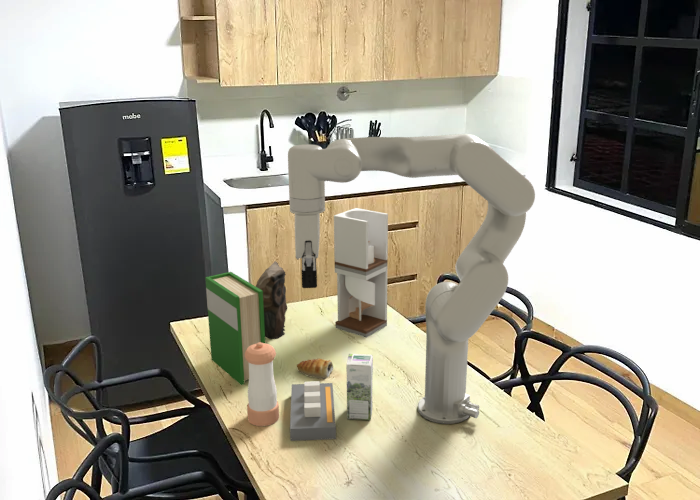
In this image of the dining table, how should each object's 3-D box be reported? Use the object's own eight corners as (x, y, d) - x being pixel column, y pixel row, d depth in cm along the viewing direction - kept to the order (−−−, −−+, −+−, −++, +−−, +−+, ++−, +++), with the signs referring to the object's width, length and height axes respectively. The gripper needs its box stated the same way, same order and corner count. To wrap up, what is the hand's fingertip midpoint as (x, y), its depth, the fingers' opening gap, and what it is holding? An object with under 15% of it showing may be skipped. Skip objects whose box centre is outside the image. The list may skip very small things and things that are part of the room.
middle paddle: (304, 401, 166) (304, 392, 165) (320, 400, 166) (319, 391, 165) (304, 405, 165) (304, 396, 163) (320, 405, 165) (320, 395, 164)
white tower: (335, 328, 214) (333, 215, 203) (356, 316, 222) (356, 207, 211) (366, 337, 207) (366, 221, 197) (386, 325, 216) (387, 213, 205)
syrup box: (372, 408, 170) (373, 353, 166) (371, 421, 164) (371, 364, 160) (349, 407, 171) (348, 352, 166) (346, 420, 165) (345, 363, 160)
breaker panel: (292, 395, 176) (291, 384, 175) (332, 393, 177) (332, 382, 176) (290, 440, 157) (290, 428, 156) (335, 438, 158) (335, 426, 157)
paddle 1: (304, 390, 171) (304, 381, 169) (319, 390, 171) (319, 381, 170) (304, 395, 170) (304, 385, 168) (319, 394, 170) (319, 385, 168)
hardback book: (266, 377, 185) (262, 290, 178) (241, 385, 181) (235, 297, 174) (235, 352, 199) (230, 271, 191) (211, 359, 195) (205, 277, 187)
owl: (276, 319, 221) (273, 257, 215) (302, 331, 212) (300, 267, 206) (242, 330, 213) (239, 267, 206) (268, 344, 204) (265, 278, 198)
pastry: (293, 376, 186) (292, 362, 185) (302, 364, 192) (301, 351, 191) (327, 380, 183) (327, 367, 182) (335, 369, 190) (335, 356, 188)
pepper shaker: (283, 422, 164) (279, 346, 158) (252, 429, 162) (247, 352, 156) (274, 407, 171) (271, 334, 165) (244, 413, 168) (240, 339, 162)
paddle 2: (304, 412, 162) (304, 403, 160) (320, 412, 162) (320, 402, 160) (304, 417, 160) (304, 407, 159) (320, 416, 161) (320, 407, 159)
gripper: (290, 194, 159) (292, 267, 164) (288, 214, 143) (291, 294, 148) (324, 193, 159) (325, 266, 165) (326, 214, 143) (327, 293, 148)
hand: (309, 279), depth 156 cm, fingers open, 9 cm apart
